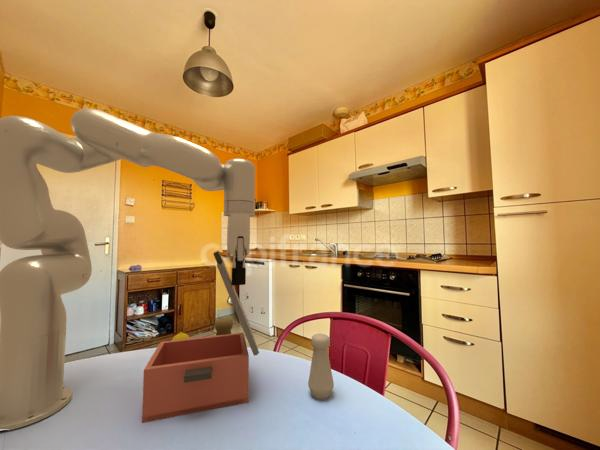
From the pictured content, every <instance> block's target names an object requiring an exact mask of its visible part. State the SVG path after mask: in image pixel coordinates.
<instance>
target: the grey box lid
mask: <svg viewBox="0 0 600 450" xmlns="http://www.w3.org/2000/svg"><path fill="white" fill-rule="evenodd" d="M213 257H214V259H215V262H216V263H217V264H216V267H217V270H218V272H219V274H220V277H221V279H222V282H223V284H224V286H225V289H226V291H227V293H228V296H229V298H230V301H231V304H232V306H233V309H234V311H235V313H236V316H237V318H238V320H239V322H240V325H241V327H242V330H243V333H244V336H245V339H247V342H248V345H249V347H250V349H251V352H252V355H253V356H254V357H255V356H258V355H259V354H260V350H259V348H258V345H257V342H256V339H255V336H254V333H253V331H252V330H253V329H252V327H251V325H250V322H249V320H248V318H247V315H246V313H245V310H244V308H243V305H242V303H241V301H240V300H241V299H240V297H239V295H238V293H237V291H236V289H235V285H232V277H231V276H230V274H229V271H228V269H227V268H228V267H227V266H226V263H225V261H224V259H223V258H222V255H221V253H220V250H217V251H214V252H213Z"/></svg>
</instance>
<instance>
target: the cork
mask: <svg viewBox="0 0 600 450" xmlns="http://www.w3.org/2000/svg"><path fill="white" fill-rule="evenodd" d="M233 325H234V322H233V320H232V319H231V318H229V317H222V318H221V317H220V318H219V319H218V318H217V319H216V321H215V323H214V329H215V331H216V335H215V336H218V335H227V334H232V328H233Z"/></svg>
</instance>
